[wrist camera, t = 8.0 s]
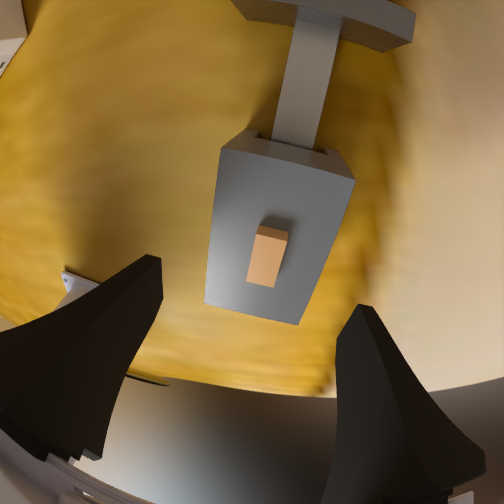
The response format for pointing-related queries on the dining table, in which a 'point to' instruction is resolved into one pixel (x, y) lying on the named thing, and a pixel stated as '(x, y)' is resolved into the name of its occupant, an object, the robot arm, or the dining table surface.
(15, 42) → the container
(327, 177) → the block
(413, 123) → the dining table surface
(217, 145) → the dining table surface
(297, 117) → the rail
